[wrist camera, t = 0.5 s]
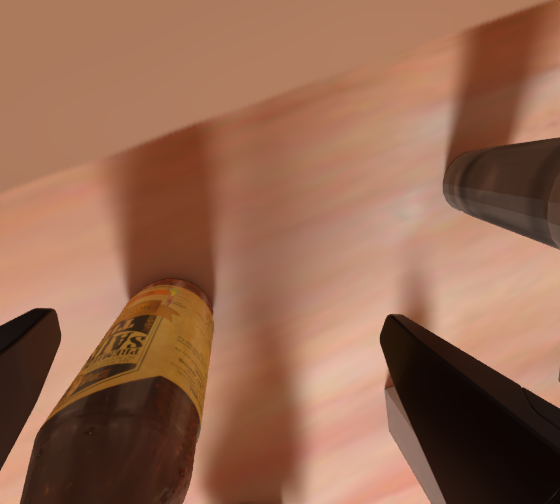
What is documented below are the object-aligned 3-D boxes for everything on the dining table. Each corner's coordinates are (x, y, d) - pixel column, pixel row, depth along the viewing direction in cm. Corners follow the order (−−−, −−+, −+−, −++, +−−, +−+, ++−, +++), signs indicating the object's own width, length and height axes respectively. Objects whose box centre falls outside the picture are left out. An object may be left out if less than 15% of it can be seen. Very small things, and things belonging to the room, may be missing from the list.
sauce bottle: (165, 257, 23) (-124, 709, 4) (232, 308, 25) (237, 780, 6) (108, 322, 24) (-353, 951, 5) (177, 367, 26) (32, 948, 7)
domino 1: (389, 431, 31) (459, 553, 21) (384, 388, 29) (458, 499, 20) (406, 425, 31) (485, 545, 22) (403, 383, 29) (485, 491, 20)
